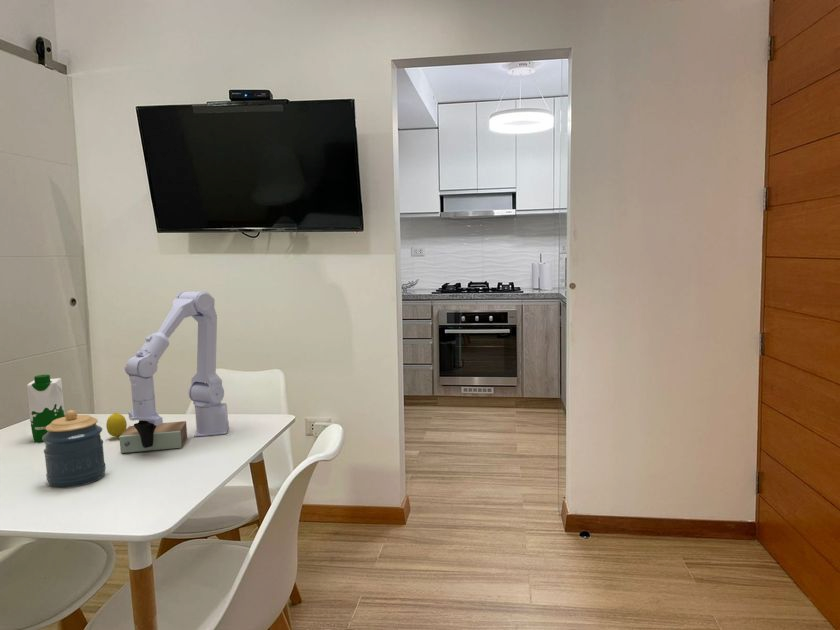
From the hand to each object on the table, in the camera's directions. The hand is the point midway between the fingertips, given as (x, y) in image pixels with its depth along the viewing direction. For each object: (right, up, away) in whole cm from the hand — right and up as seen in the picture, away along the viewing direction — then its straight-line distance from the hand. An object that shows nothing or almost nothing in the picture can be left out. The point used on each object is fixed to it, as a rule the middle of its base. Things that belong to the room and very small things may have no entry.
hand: (147, 446), depth 169 cm
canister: (-10, -4, -18) cm, 21 cm away
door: (0, -1, +2) cm, 2 cm away
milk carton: (-38, -2, +18) cm, 42 cm away
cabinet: (-1, -1, +8) cm, 8 cm away
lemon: (-16, -1, +16) cm, 23 cm away
